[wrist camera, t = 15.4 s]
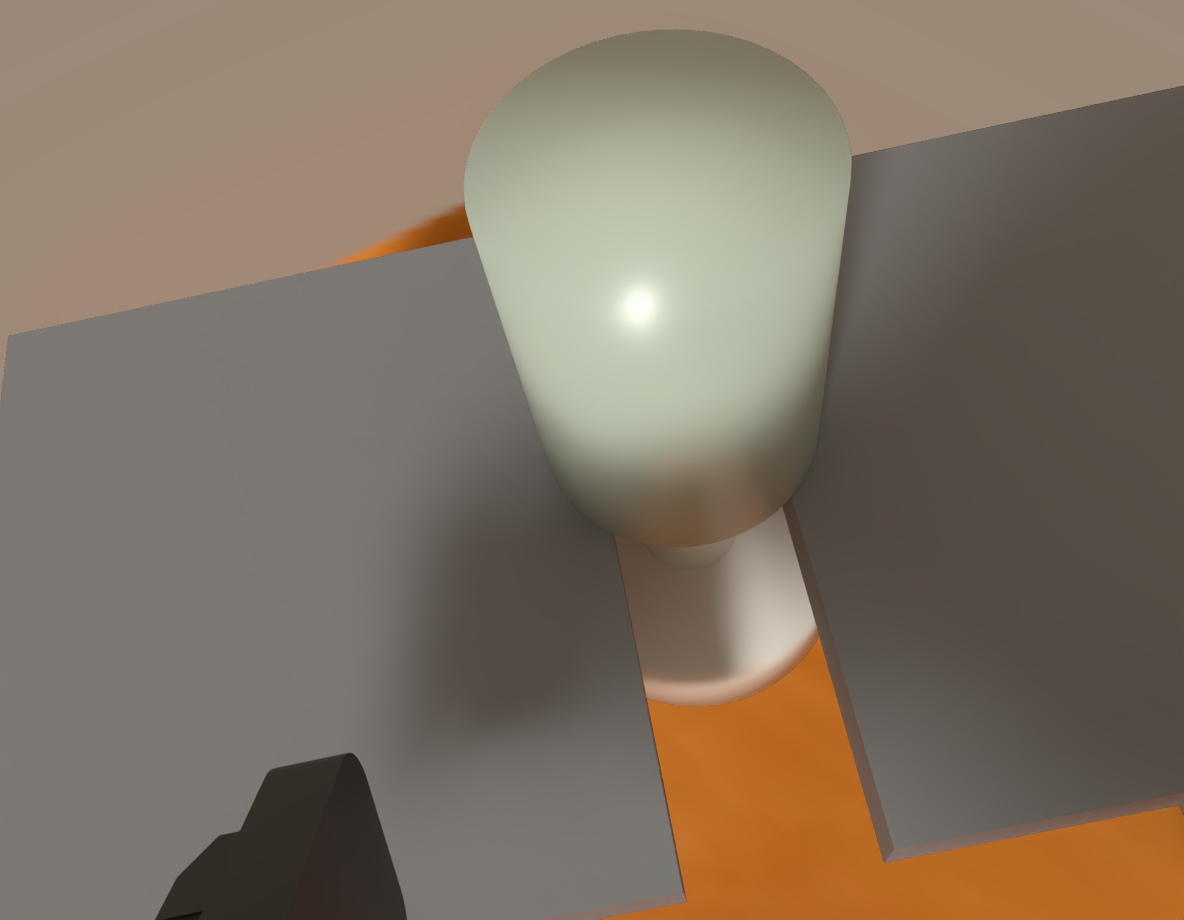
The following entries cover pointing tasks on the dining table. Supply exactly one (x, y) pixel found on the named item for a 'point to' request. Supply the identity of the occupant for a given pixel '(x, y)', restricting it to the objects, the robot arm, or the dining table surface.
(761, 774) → the dining table surface
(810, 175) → the wine glass
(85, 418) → the slotted rack
